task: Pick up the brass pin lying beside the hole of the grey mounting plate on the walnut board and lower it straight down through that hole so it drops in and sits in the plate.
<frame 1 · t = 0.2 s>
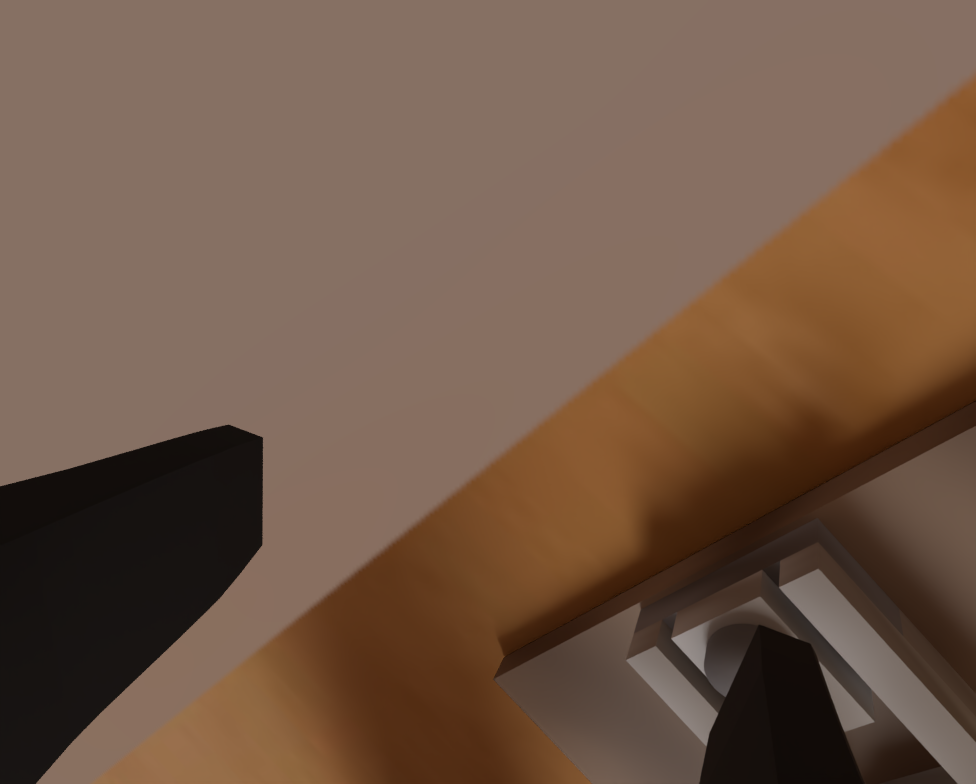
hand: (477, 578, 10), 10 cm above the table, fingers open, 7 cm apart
grey mounting plate: (865, 697, 20), on the table
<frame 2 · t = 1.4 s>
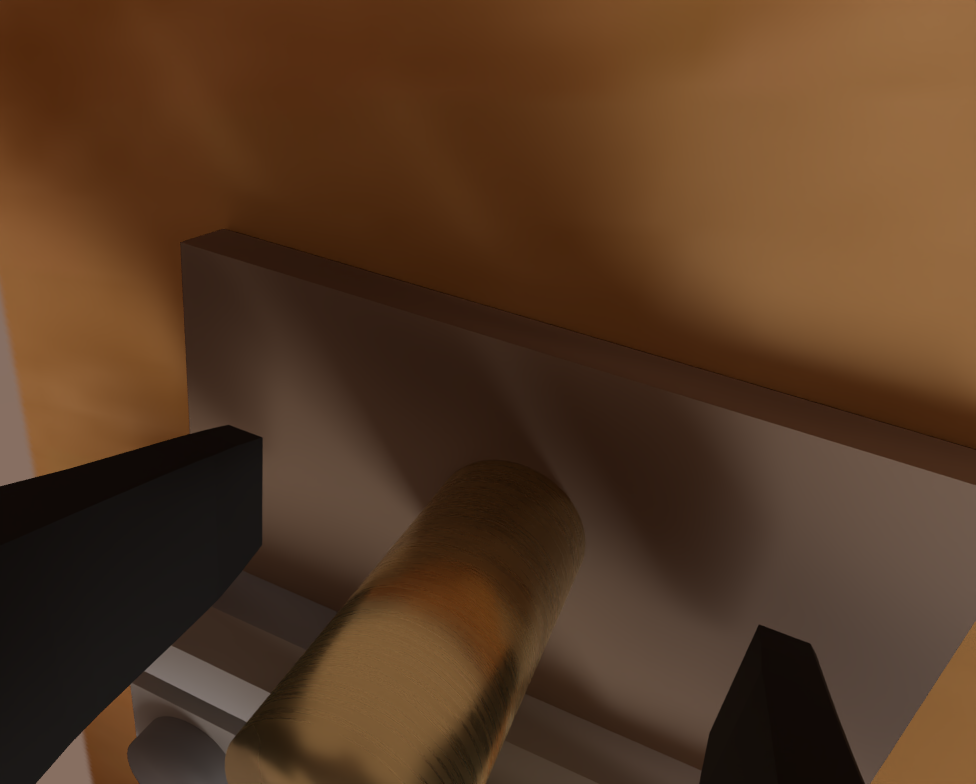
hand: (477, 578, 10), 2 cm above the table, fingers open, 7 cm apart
grey mounting plate: (477, 732, 15), on the table
brass pin: (508, 529, 11), point 1 cm above the table, touching grey mounting plate
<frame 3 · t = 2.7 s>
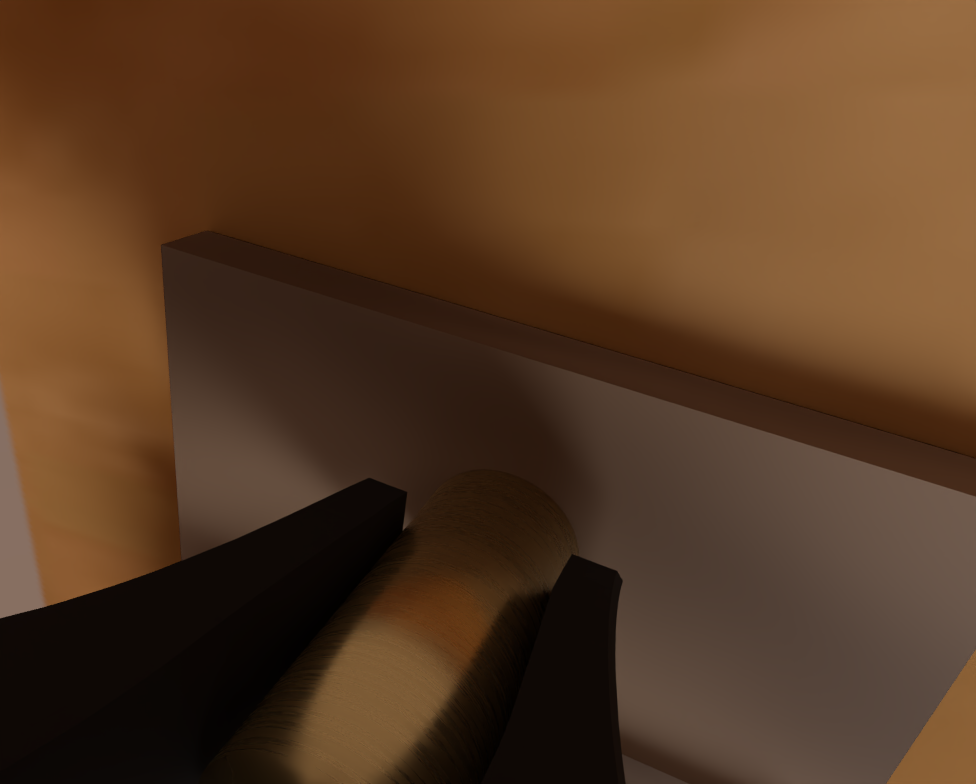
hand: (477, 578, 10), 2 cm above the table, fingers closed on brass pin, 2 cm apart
grey mounting plate: (470, 745, 15), on the table
brass pin: (500, 540, 11), point 1 cm above the table, touching grey mounting plate, gripper
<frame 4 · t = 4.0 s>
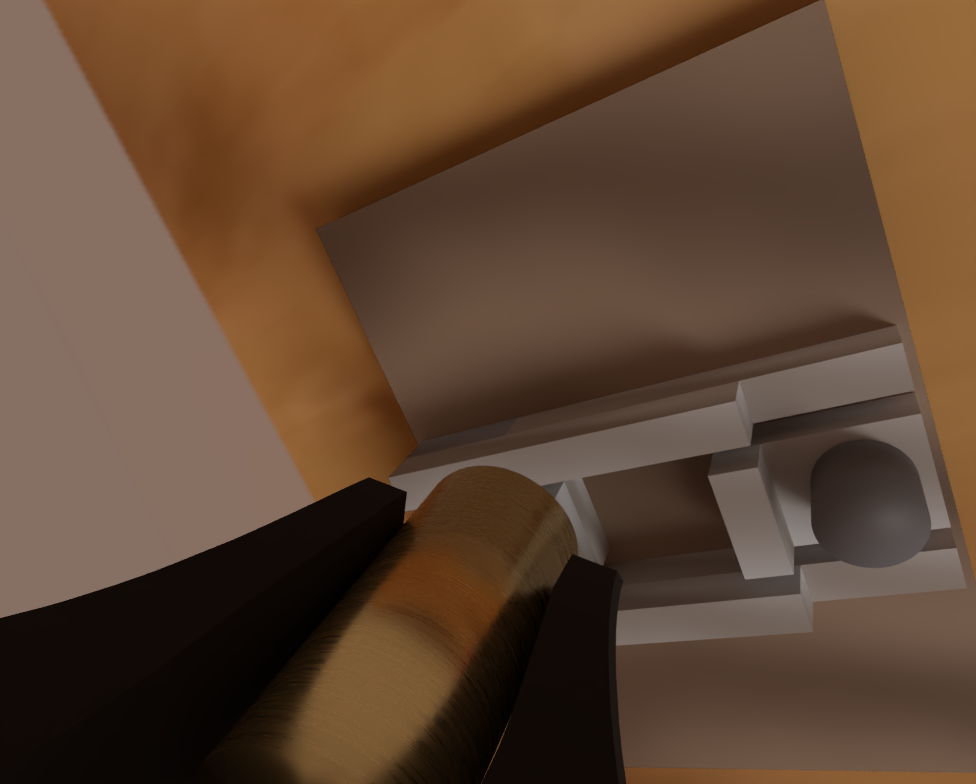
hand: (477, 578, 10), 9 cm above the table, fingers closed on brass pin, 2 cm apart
grey mounting plate: (666, 473, 19), on the table
brass pin: (499, 537, 11), point 8 cm above the table, touching gripper
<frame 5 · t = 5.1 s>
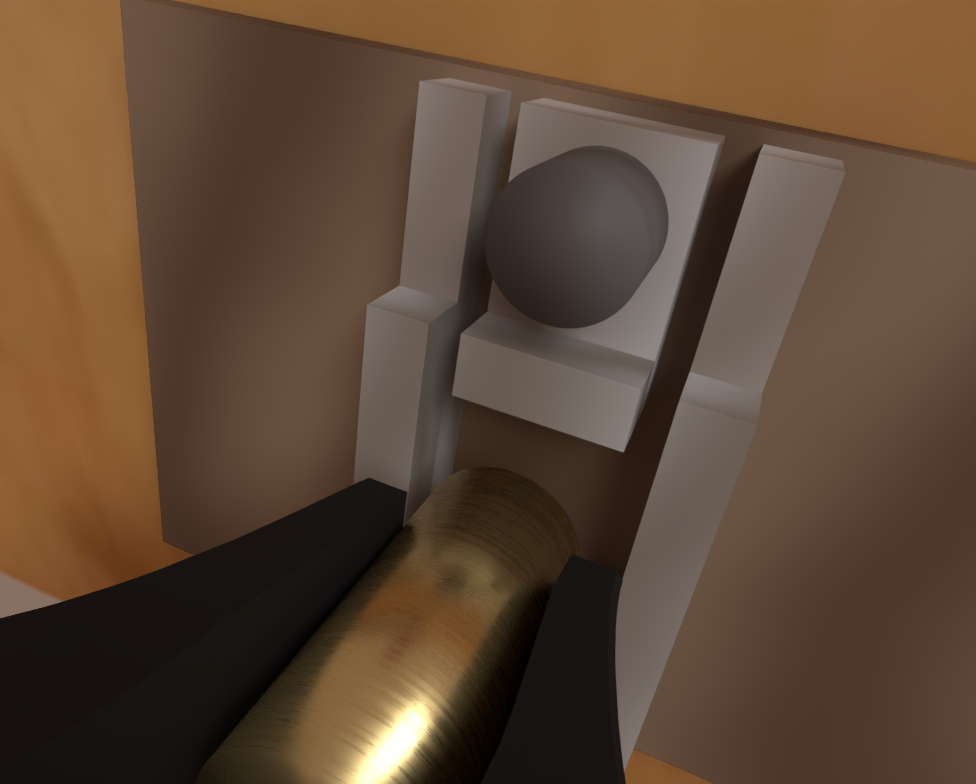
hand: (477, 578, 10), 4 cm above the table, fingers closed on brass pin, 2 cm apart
grey mounting plate: (567, 434, 14), on the table
brass pin: (499, 538, 11), point 4 cm above the table, touching gripper
when the fingers open (3 cm above the table, at t = 5.6 s): brass pin drops 2 cm, resting on grey mounting plate.
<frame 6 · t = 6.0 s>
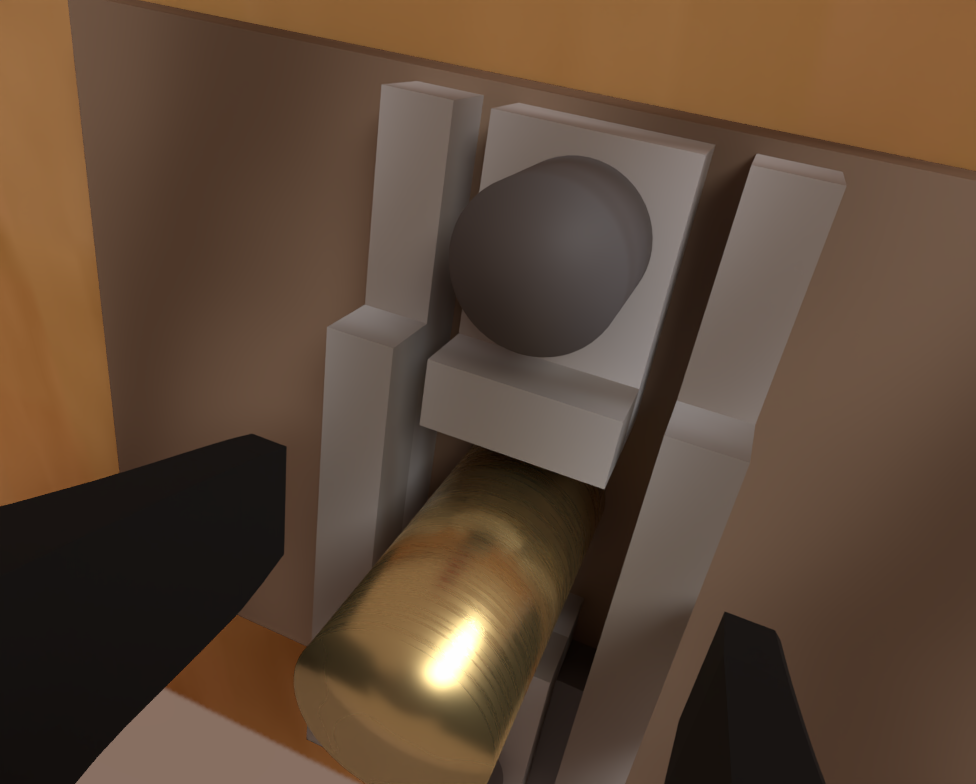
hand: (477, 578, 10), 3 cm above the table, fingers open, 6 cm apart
grey mounting plate: (550, 459, 13), on the table
brass pin: (533, 486, 12), point 1 cm above the table, touching grey mounting plate
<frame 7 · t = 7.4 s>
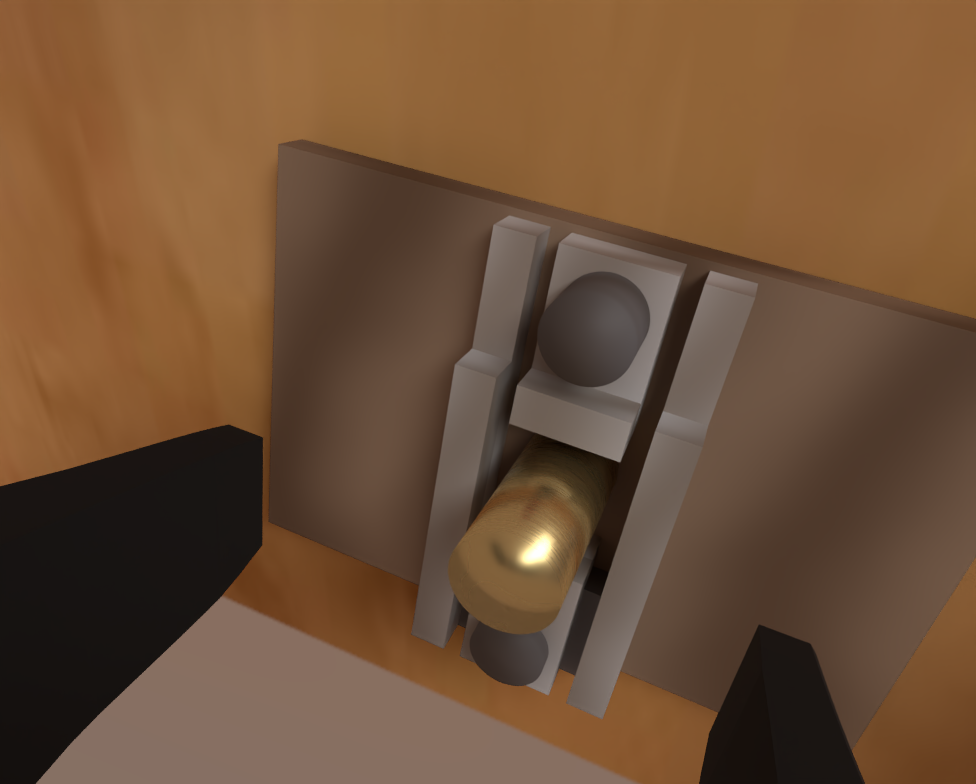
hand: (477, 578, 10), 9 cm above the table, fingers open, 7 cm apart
grey mounting plate: (580, 447, 20), on the table
brass pin: (571, 463, 19), point 1 cm above the table, touching grey mounting plate
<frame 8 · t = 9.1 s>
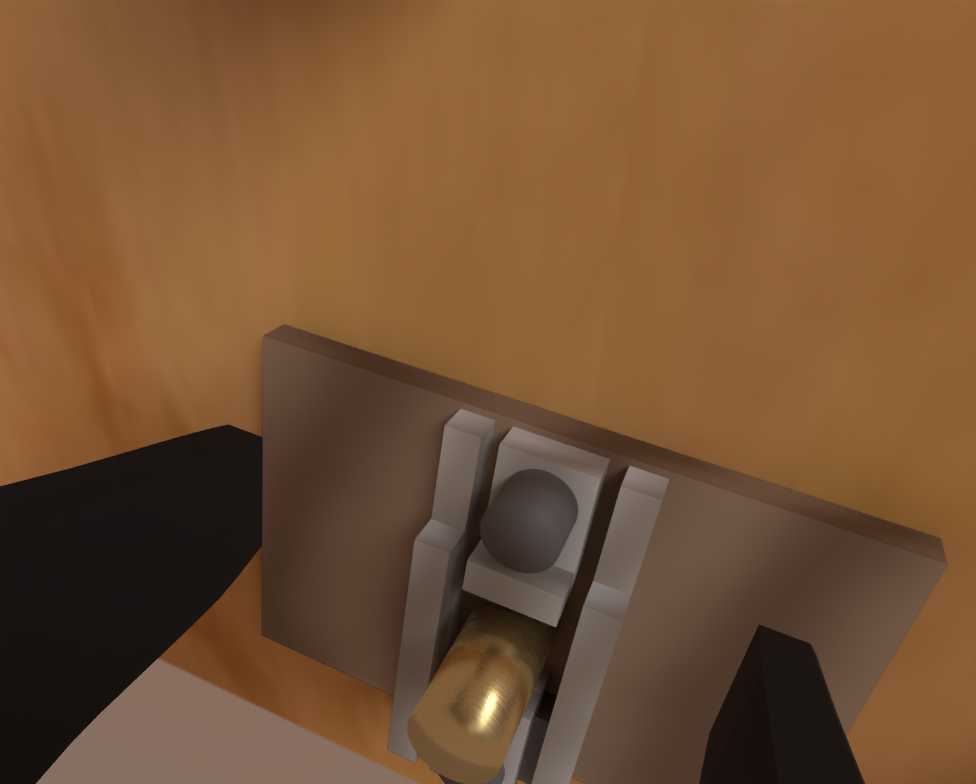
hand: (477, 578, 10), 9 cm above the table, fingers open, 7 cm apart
grey mounting plate: (532, 587, 22), on the table
brass pin: (522, 607, 21), point 1 cm above the table, touching grey mounting plate
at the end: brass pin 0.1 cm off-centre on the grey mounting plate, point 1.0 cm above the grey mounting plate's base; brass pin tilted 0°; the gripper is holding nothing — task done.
